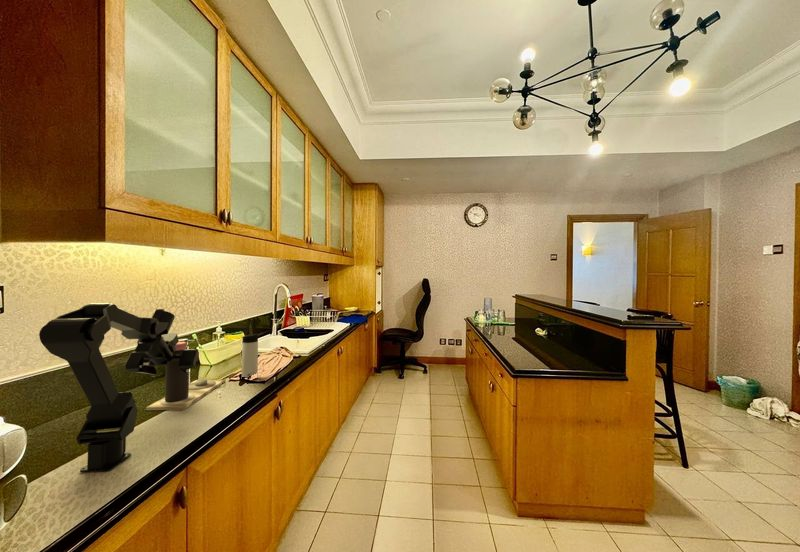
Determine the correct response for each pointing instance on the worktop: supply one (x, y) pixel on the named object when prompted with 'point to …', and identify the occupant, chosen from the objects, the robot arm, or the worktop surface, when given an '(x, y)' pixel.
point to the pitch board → (195, 393)
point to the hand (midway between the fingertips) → (171, 372)
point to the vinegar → (176, 378)
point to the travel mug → (249, 355)
